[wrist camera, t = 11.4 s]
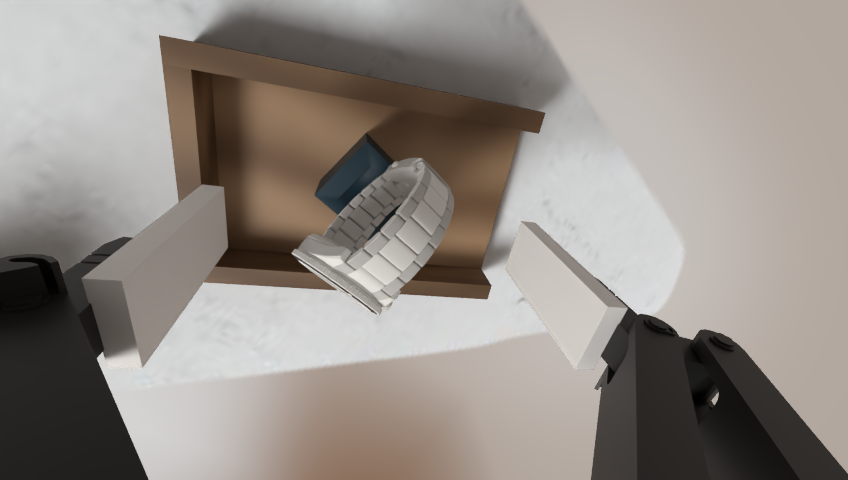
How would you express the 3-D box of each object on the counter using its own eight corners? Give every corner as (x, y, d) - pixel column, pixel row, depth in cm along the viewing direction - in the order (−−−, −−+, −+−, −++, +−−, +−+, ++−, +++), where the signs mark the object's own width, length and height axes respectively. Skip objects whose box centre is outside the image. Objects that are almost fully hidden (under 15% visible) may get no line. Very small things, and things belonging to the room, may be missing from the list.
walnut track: (192, 41, 19) (158, 35, 16) (520, 107, 23) (545, 112, 20) (210, 254, 24) (188, 281, 21) (473, 274, 29) (487, 299, 26)
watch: (300, 200, 23) (253, 297, 13) (386, 112, 21) (406, 145, 11) (362, 251, 25) (363, 365, 15) (444, 175, 23) (502, 247, 14)
